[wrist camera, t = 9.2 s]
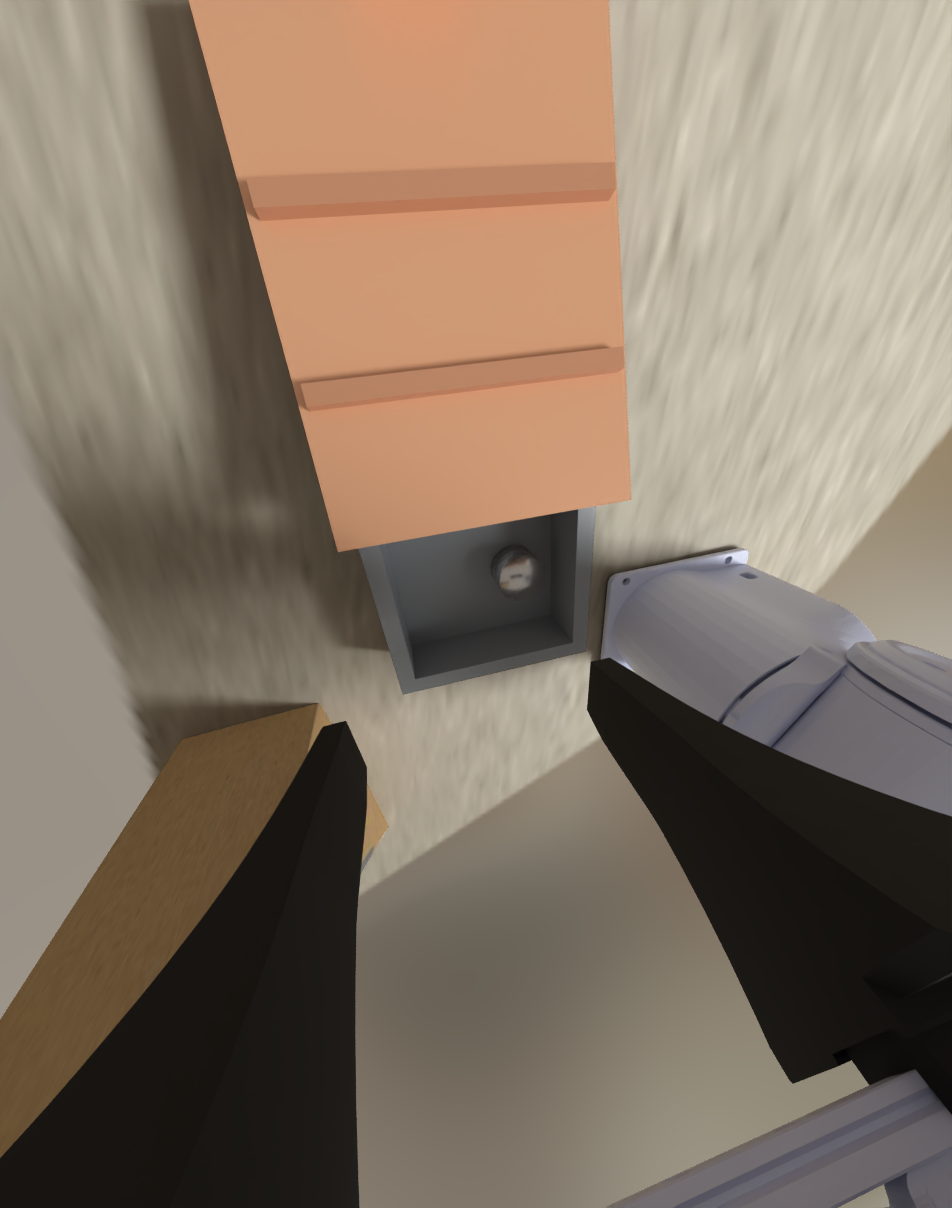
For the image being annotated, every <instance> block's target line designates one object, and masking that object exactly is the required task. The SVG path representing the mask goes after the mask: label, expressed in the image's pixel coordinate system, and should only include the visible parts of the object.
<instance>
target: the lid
mask: <svg viewBox="0 0 952 1208" xmlns="http://www.w3.org/2000/svg"><path fill="white" fill-rule="evenodd" d="M189 3H190V7H191V11H192V14H193V18H194V22H195V26H196V29H197V33H198V37H199V40H200V44H201V48H202V51H203V55H204V59H205V62H206V66H207V70H208V74H209V77H210V81H211V85H212V88H213V92H214V96H215V99H216V103H217V107H218V111H219V114H220V118H221V122H222V125H223V129H224V133H225V136H226V140H227V144H228V147H229V151H230V155H231V159H232V162H233V166H234V170H235V173H236V177H237V181H238V184H239V188H240V192H241V196H242V199H243V203H244V207H245V210H246V214H247V218H248V221H249V225H250V229H251V233H252V236H253V240H254V244H255V247H256V251H257V255H258V258H259V262H260V266H261V269H262V273H263V277H264V281H265V284H266V288H267V292H268V295H269V299H270V303H271V306H272V310H273V314H274V318H275V321H276V325H277V329H278V332H279V336H280V340H281V343H282V347H283V351H284V354H285V358H286V362H287V366H288V369H289V373H290V377H291V380H292V384H293V388H294V391H295V395H296V399H297V403H298V406H299V410H300V414H301V417H302V421H303V425H304V428H305V432H306V436H307V440H308V443H309V447H310V451H311V454H312V458H313V462H314V465H315V469H316V473H317V476H318V480H319V484H320V488H321V491H322V495H323V499H324V502H325V506H326V510H327V513H328V517H329V521H330V525H331V528H332V532H333V536H334V539H335V543H336V547H337V550H338V552H342V551H347V550H353V549H358V548H364V547H370V546H375V545H381V544H386V543H392V542H398V541H403V540H409V539H414V538H420V537H426V536H431V535H437V534H442V533H448V532H454V531H459V530H465V529H470V528H476V527H481V526H487V525H493V524H498V523H504V522H509V521H515V520H521V519H526V518H532V517H537V516H543V515H549V514H554V513H560V512H565V511H571V510H576V509H582V508H588V507H593V506H599V505H604V504H610V503H616V502H621V501H627V500H631V480H630V458H629V436H628V415H627V393H626V371H625V349H624V327H623V305H622V283H621V261H620V239H619V217H618V195H617V174H616V152H615V130H614V108H613V86H612V64H611V42H610V20H609V0H189Z"/></svg>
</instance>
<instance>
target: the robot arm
mask: <svg viewBox="0 0 952 1208" xmlns="http://www.w3.org/2000/svg"><path fill="white" fill-rule="evenodd" d="M748 556H749V551H748V550H746V549H744V548H737V549H732V550H727V551H723V552H718V553H713V554H708V555H703V556H699V557H694V558H689V559H684V560H679V561H674V562H670V563H665V564H660V565H655V566H650V567H646V568H641V569H636V570H631V571H626V572H622V573H617V574H614V575H612V576H611V577H610V579H609V581H608V587H607V597H606V608H605V618H604V628H603V639H602V649H601V660H597V661H593V662H591V666H590V679H589V692H588V705H587V710H588V712H589V715H590V717H591V719H592V721H593V723H594V725H595V727H596V729H597V731H598V732H599V734H600V736H601V738H602V740H603V742H604V743H605V745H606V746H607V748H608V750H609V751H610V753H611V754H612V756H613V757H614V759H615V760H616V761H617V763H618V765H619V766H620V768H621V769H622V771H623V772H624V774H625V775H626V777H627V778H628V780H629V781H630V783H631V784H632V786H633V787H634V789H635V790H636V792H637V793H638V795H639V796H640V798H641V799H642V801H643V802H644V803H645V805H646V807H647V808H648V810H649V811H650V813H651V814H652V816H653V817H654V819H655V821H656V822H657V824H658V825H659V827H660V829H661V830H662V832H663V834H664V836H665V838H666V839H667V841H668V843H669V845H670V847H671V849H672V850H673V852H674V854H675V856H676V858H677V859H678V861H679V863H680V865H681V867H682V868H683V870H684V872H685V874H686V876H687V878H688V880H689V882H690V884H691V886H692V888H693V889H694V891H695V893H696V895H697V897H698V899H699V901H700V903H701V904H702V907H703V908H704V910H705V912H706V914H707V916H708V918H709V920H710V922H711V924H712V926H713V928H714V930H715V932H716V934H717V936H718V938H719V940H720V942H721V944H722V946H723V948H724V950H725V952H726V954H727V956H728V958H729V960H730V962H731V965H732V967H733V969H734V971H735V973H736V975H737V977H738V979H739V982H740V984H741V986H742V988H743V990H744V992H745V994H746V996H747V998H748V1000H749V1003H750V1005H751V1007H752V1009H753V1011H754V1013H755V1015H756V1017H757V1020H758V1022H759V1024H760V1026H761V1029H762V1031H763V1033H764V1035H765V1038H766V1039H767V1042H768V1044H769V1046H770V1048H771V1050H772V1052H773V1053H774V1055H775V1057H776V1059H777V1060H778V1062H779V1063H780V1065H781V1067H782V1069H783V1070H784V1072H785V1074H786V1075H787V1077H788V1079H789V1080H790V1081H791V1082H792V1083H796V1082H799V1081H801V1080H804V1079H806V1078H809V1077H811V1076H814V1075H816V1074H819V1073H821V1072H824V1071H827V1070H829V1069H832V1068H835V1067H837V1066H840V1065H842V1064H844V1063H846V1062H849V1061H851V1060H852V1061H853V1063H854V1064H855V1065H856V1067H857V1068H858V1070H859V1071H860V1072H861V1074H862V1075H863V1077H864V1078H865V1080H866V1081H867V1082H868V1084H869V1085H870V1086H867V1087H865V1088H863V1089H861V1090H859V1091H857V1092H855V1093H852V1094H850V1095H848V1096H846V1097H844V1098H842V1099H839V1100H837V1101H835V1102H833V1103H830V1104H828V1105H826V1106H824V1107H822V1108H820V1109H817V1110H815V1111H813V1112H811V1113H809V1114H807V1115H804V1116H803V1117H800V1118H798V1119H796V1120H793V1121H791V1122H789V1123H787V1124H785V1125H783V1126H781V1127H778V1128H776V1129H774V1130H772V1131H770V1132H768V1133H765V1134H763V1135H761V1136H759V1137H757V1138H754V1139H752V1140H750V1141H748V1142H746V1143H744V1144H741V1145H739V1146H737V1147H735V1148H733V1149H730V1150H728V1151H726V1152H724V1153H722V1154H720V1155H717V1156H715V1157H713V1158H711V1159H709V1160H707V1161H704V1162H702V1163H700V1164H698V1165H696V1166H694V1167H691V1168H689V1169H687V1170H685V1171H683V1172H680V1173H678V1174H676V1175H674V1176H672V1177H670V1178H667V1179H665V1180H663V1181H661V1182H659V1183H657V1184H654V1185H652V1186H650V1187H648V1188H646V1189H644V1190H641V1191H639V1192H637V1193H635V1194H633V1195H630V1196H629V1197H626V1198H624V1199H622V1200H620V1201H617V1202H615V1203H613V1204H611V1205H609V1206H607V1207H604V1208H838V1207H840V1206H842V1205H844V1204H845V1203H848V1202H850V1201H852V1200H854V1199H856V1198H857V1197H859V1196H861V1195H863V1194H865V1193H867V1192H869V1191H871V1190H873V1189H875V1188H877V1187H879V1186H881V1185H883V1184H884V1186H885V1190H886V1193H887V1196H888V1199H889V1204H890V1206H889V1207H887V1208H952V660H951V659H949V658H946V657H943V656H941V655H938V654H935V653H933V652H930V651H927V650H924V649H921V648H918V647H915V646H912V645H909V644H905V643H902V642H898V641H894V640H882V641H877V640H876V639H875V637H874V635H873V634H872V633H871V631H870V630H869V629H868V627H867V626H866V625H865V624H864V623H863V622H862V621H861V620H860V619H859V618H857V617H856V616H855V615H854V614H853V613H851V612H850V611H848V610H847V609H845V608H844V607H842V606H840V605H837V604H835V603H833V602H831V601H829V600H827V599H824V598H822V597H820V596H818V595H815V594H813V593H811V592H808V591H806V590H804V589H801V588H799V587H797V586H795V585H792V584H790V583H788V582H785V581H783V580H781V579H779V578H776V577H774V576H772V575H769V574H767V573H765V572H763V571H760V570H758V569H756V568H753V567H751V566H749V565H747V564H746V563H747V560H748ZM725 559H726V560H725ZM625 578H626V581H625V582H623V580H624V579H625ZM622 582H623V583H622ZM631 670H634V671H635V673H634V672H633V671H631ZM366 813H367V767H366V764H365V762H364V760H363V758H362V755H361V753H360V751H359V749H358V746H357V744H356V742H355V740H354V738H353V735H352V733H351V731H350V729H349V726H348V724H347V722H346V721H344V722H339V723H335V724H331V725H327V726H323V727H322V729H321V730H320V732H319V734H318V736H317V737H316V739H315V741H314V743H313V745H312V747H311V748H310V750H309V752H308V754H307V756H306V757H305V759H304V761H303V763H302V765H301V766H300V768H299V770H298V772H297V773H296V775H295V777H294V779H293V781H292V782H291V784H290V786H289V787H288V789H287V791H286V792H285V794H284V796H283V797H282V799H281V801H280V802H279V804H278V806H277V808H276V809H275V811H274V813H273V814H272V816H271V817H270V819H269V821H268V822H267V824H266V825H265V827H264V828H263V830H262V831H261V833H260V835H259V836H258V838H257V839H256V841H255V842H254V844H253V845H252V847H251V849H250V850H249V852H248V853H247V855H246V856H245V858H244V859H243V861H242V862H241V864H240V865H239V867H238V868H237V869H236V871H235V872H234V874H233V875H232V877H231V878H230V880H229V881H228V882H227V884H226V885H225V887H224V888H223V890H222V891H221V892H220V894H219V895H218V896H217V898H216V899H215V901H214V902H213V903H212V905H211V906H210V908H209V909H208V910H207V912H206V913H205V914H204V916H203V917H202V918H201V920H200V921H199V922H198V924H197V925H196V926H195V928H194V929H193V930H192V931H191V933H190V934H189V935H188V937H187V938H186V939H185V941H184V942H183V943H182V944H181V946H180V947H179V948H178V950H177V951H176V952H175V954H174V955H173V956H172V958H171V959H170V960H169V961H168V963H167V964H166V965H165V967H164V968H163V969H162V970H161V972H160V973H159V974H158V975H157V977H156V978H155V979H154V980H153V982H152V983H151V984H150V985H149V987H148V988H147V989H146V990H145V991H144V993H143V994H142V995H141V996H140V998H139V999H138V1000H137V1001H136V1002H135V1004H134V1005H133V1006H132V1007H131V1008H130V1009H129V1011H128V1012H127V1013H126V1014H125V1015H124V1017H123V1018H122V1019H121V1020H120V1021H119V1023H118V1024H117V1025H116V1026H115V1027H114V1028H113V1030H112V1031H111V1032H110V1033H109V1034H108V1036H107V1037H106V1038H105V1039H104V1040H103V1042H102V1043H101V1044H100V1045H99V1046H98V1047H97V1049H96V1050H95V1051H94V1052H93V1053H92V1055H91V1056H90V1057H89V1058H88V1059H87V1060H86V1062H85V1063H84V1064H83V1065H82V1066H81V1068H80V1069H79V1070H78V1071H77V1072H76V1074H75V1075H74V1076H73V1077H72V1078H71V1079H70V1080H69V1082H68V1083H67V1084H66V1085H65V1086H64V1087H63V1088H62V1090H61V1091H60V1092H59V1093H58V1094H57V1095H56V1097H55V1098H54V1099H53V1100H52V1101H51V1102H50V1103H49V1105H48V1106H47V1107H46V1108H45V1109H44V1110H43V1111H42V1112H41V1113H40V1115H39V1116H38V1117H37V1118H36V1119H35V1120H34V1121H33V1122H32V1123H31V1125H30V1126H29V1127H28V1128H27V1129H26V1130H25V1131H24V1132H23V1133H22V1134H21V1136H20V1137H19V1138H18V1139H17V1140H16V1141H15V1142H14V1143H13V1144H12V1145H11V1147H10V1148H9V1149H8V1150H7V1151H6V1152H5V1153H4V1154H3V1155H2V1157H1V1158H0V1208H359V1186H358V1158H357V1157H358V1155H357V1118H356V1060H355V1059H356V1058H355V1057H356V1056H355V971H356V921H357V907H358V895H359V885H360V875H361V865H362V855H363V845H364V835H365V824H366Z"/></svg>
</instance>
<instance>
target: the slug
mask: <svg viewBox="0 0 952 1208" xmlns="http://www.w3.org/2000/svg"><path fill="white" fill-rule="evenodd" d="M491 573H492V576H493V578H494V579H495V581H496V583H497V584H498V586H499V588H500V589H501V591H502V592H503V594H504V595H505V596H506V597H507V598H508V599H510V600H513V601H526V600H529V599H531V598H533V597H535V596H536V595H537V594H538V593H539V592H540V591H541V590H542V588H543V587H544V585H545V582H546V570H545V567H544V565H543V564H542V563H541V562H540V561H539V560H538V559H537V558H536V557H535V556H534V555H533V554H532V553H531V552H530V551H529V550H528V549H527V548H526V547H524V546H521V545H510V546H507V547H504V548H503V549H501V550H500V551H499V552H498V553H497V554H496V555H495V557H494V558H493V561H492V564H491Z"/></svg>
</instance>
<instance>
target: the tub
mask: <svg viewBox="0 0 952 1208" xmlns="http://www.w3.org/2000/svg"><path fill="white" fill-rule="evenodd" d="M595 511H596V506H593V507H588V508H582V509H576V510H571V511H565V512H560V513H554V514H549V515H543V516H537V517H532V518H526V519H521V520H515V521H509V522H504V523H498V524H493V525H487V526H481V527H476V528H470V529H465V530H459V531H454V532H448V533H442V534H437V535H431V536H426V537H420V538H414V539H409V540H403V541H398V542H392V543H386V544H381V545H375V546H370V547H364V548H358V550H359V553H360V556H361V559H362V563H363V566H364V569H365V573H366V576H367V579H368V582H369V586H370V589H371V592H372V595H373V599H374V602H375V605H376V608H377V612H378V615H379V618H380V622H381V625H382V628H383V631H384V635H385V638H386V641H387V644H388V648H389V651H390V654H391V657H392V661H393V664H394V667H395V671H396V674H397V677H398V680H399V684H400V687H401V690H402V693H403V695H404V694H408V693H412V692H416V691H420V690H425V689H429V688H433V687H437V686H442V685H446V684H450V683H454V682H459V681H463V680H467V679H471V678H475V677H480V676H484V675H488V674H492V673H497V672H501V671H505V670H509V669H514V668H518V667H522V666H526V665H530V664H535V663H539V662H543V661H547V660H552V659H556V658H560V657H564V656H569V655H573V654H577V653H581V652H585V651H586V645H587V630H588V615H589V600H590V585H591V570H592V555H593V541H594V526H595ZM510 545H521V546H524V547H526V548H527V549H528V550H529V551H530V552H531V553H532V554H533V555H534V556H535V557H536V558H537V559H538V560H539V561H540V562H541V563H542V564H543V565H544V567H545V570H546V582H545V585H544V587H543V588H542V590H541V591H540V592H539V593H538V594H537V595H536V596H535V597H533V598H531V599H529V600H526V601H513V600H510V599H508V598H507V597H506V596H505V595H504V594H503V592H502V591H501V589H500V588H499V586H498V584H497V583H496V581H495V579H494V578H493V576H492V573H491V564H492V561H493V558H494V557H495V555H496V554H497V553H498V552H499V551H500V550H501V549H503V548H504V547H507V546H510Z"/></svg>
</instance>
